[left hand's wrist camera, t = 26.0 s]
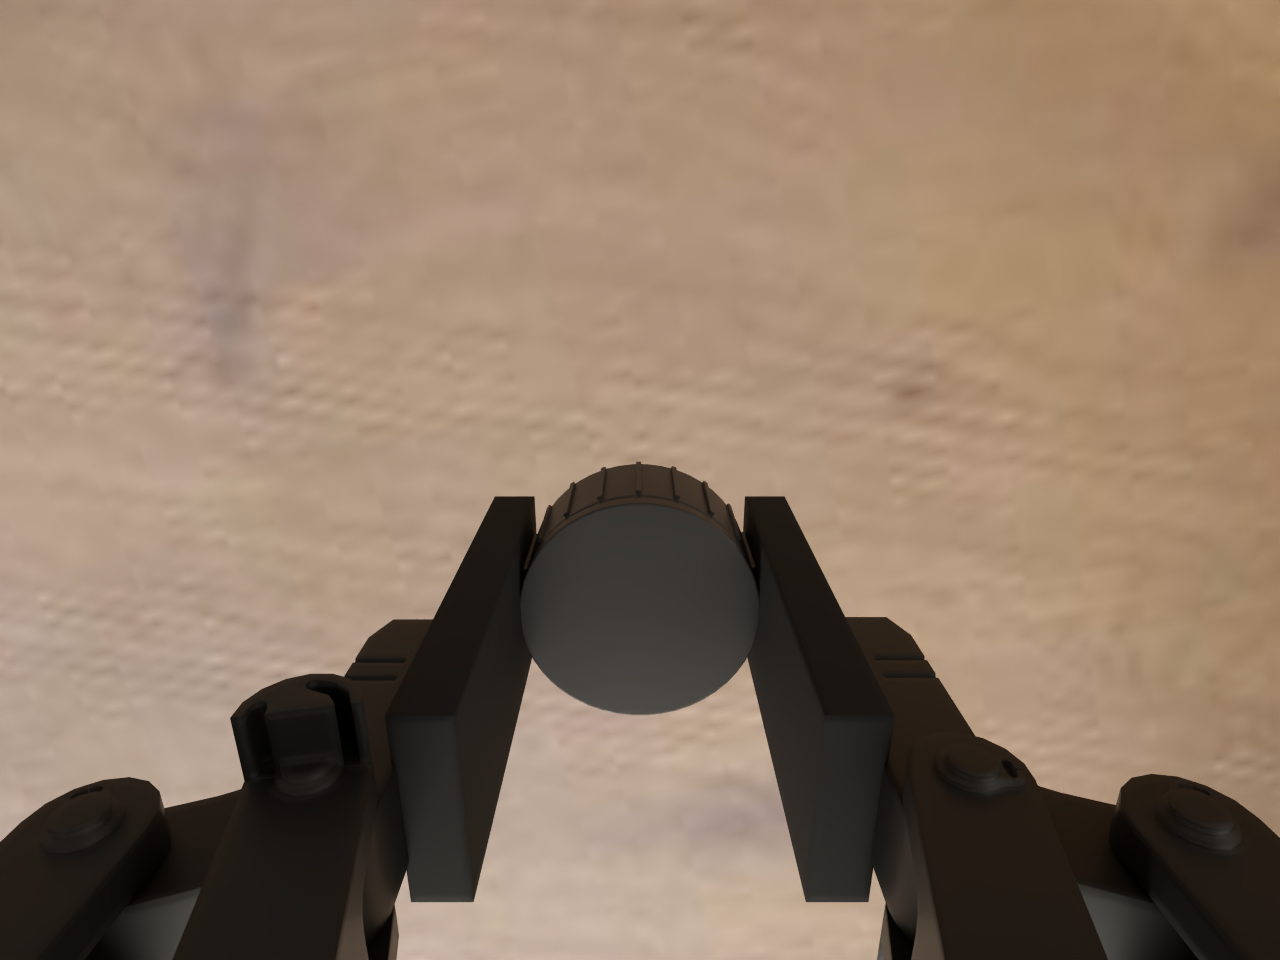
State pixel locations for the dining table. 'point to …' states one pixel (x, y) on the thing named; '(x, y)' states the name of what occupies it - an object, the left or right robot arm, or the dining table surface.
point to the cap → (639, 591)
